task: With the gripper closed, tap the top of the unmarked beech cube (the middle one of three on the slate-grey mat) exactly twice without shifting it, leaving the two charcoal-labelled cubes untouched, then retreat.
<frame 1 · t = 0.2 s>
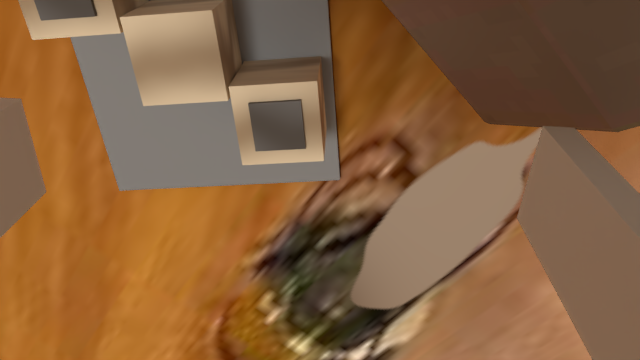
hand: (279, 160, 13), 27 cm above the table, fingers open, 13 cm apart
marked block B: (286, 95, 40), point 1 cm above the table, touching mat
mat: (200, 36, 39), on the table
plain block: (198, 38, 38), point 1 cm above the table, touching mat
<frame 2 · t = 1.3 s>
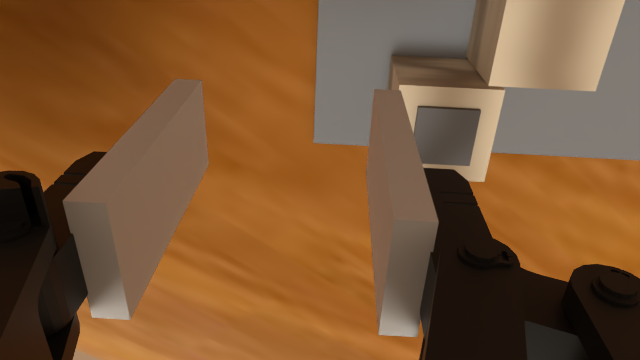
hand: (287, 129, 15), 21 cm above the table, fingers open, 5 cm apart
mat: (519, 10, 32), on the table
plain block: (521, 12, 32), point 1 cm above the table, touching mat
marked block A: (429, 100, 35), point 1 cm above the table, touching mat
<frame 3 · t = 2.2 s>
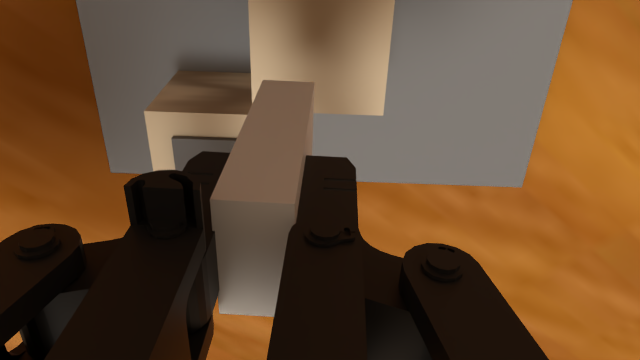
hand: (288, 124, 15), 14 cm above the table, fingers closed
mat: (321, 14, 27), on the table
plain block: (321, 17, 27), point 1 cm above the table, touching mat
marked block A: (234, 121, 30), point 1 cm above the table, touching mat
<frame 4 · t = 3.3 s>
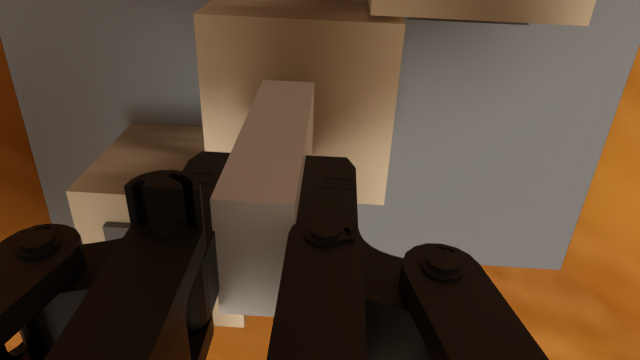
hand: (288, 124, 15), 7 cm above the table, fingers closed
mat: (311, 58, 21), on the table
plain block: (310, 62, 21), point 1 cm above the table, touching mat
marked block A: (202, 184, 24), point 1 cm above the table, touching mat
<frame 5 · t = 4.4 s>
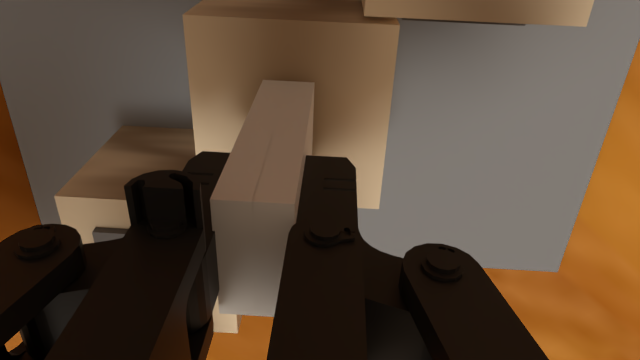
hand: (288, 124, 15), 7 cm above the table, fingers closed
mat: (304, 59, 21), on the table
plain block: (303, 63, 20), point 1 cm above the table, touching mat
marked block A: (195, 187, 24), point 1 cm above the table, touching mat
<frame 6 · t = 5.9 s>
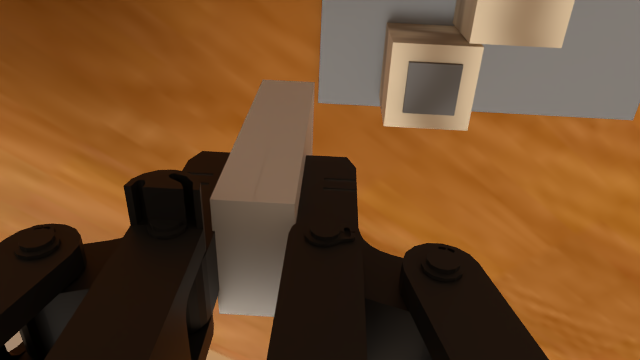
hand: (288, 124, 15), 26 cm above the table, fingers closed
marked block A: (420, 63, 40), point 1 cm above the table, touching mat
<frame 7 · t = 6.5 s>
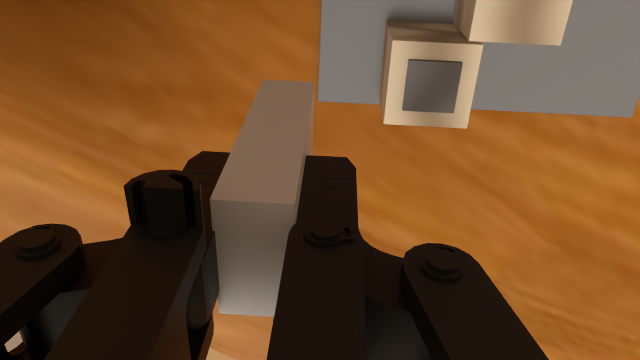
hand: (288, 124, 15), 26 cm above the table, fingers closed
marked block A: (419, 61, 40), point 1 cm above the table, touching mat
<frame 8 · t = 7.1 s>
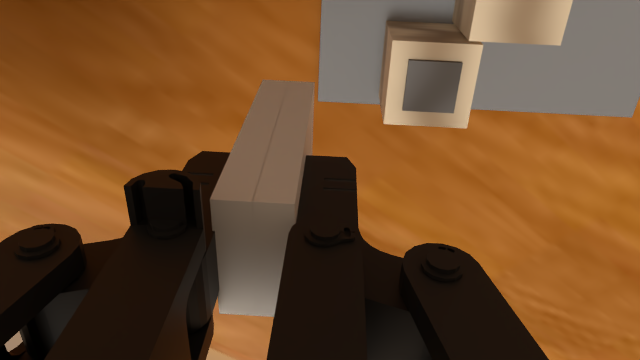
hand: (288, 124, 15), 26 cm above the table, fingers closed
marked block A: (419, 61, 40), point 1 cm above the table, touching mat
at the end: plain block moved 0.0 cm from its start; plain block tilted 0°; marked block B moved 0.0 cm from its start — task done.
